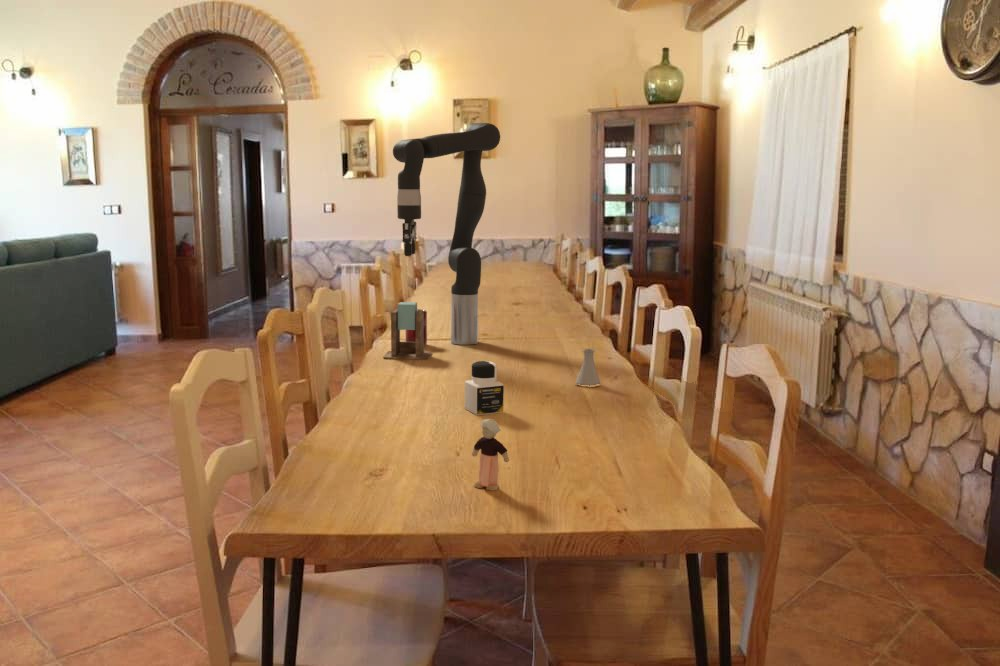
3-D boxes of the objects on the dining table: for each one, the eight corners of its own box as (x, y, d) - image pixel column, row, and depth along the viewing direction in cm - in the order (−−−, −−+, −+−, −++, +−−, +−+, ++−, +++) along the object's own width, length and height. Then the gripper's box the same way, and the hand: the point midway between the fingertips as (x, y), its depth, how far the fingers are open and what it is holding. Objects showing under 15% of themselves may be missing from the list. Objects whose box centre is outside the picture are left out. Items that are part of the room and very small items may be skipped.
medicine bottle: (477, 416, 199) (477, 366, 197) (464, 409, 205) (464, 360, 203) (503, 412, 202) (504, 363, 200) (490, 406, 208) (490, 358, 206)
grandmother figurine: (465, 488, 151) (465, 419, 149) (473, 481, 154) (474, 414, 152) (505, 494, 148) (506, 424, 146) (513, 487, 151) (514, 418, 149)
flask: (604, 384, 234) (605, 348, 232) (596, 389, 227) (597, 353, 226) (579, 381, 237) (580, 346, 235) (570, 386, 230) (571, 350, 229)
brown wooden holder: (431, 353, 273) (431, 309, 271) (427, 359, 263) (427, 313, 261) (388, 352, 274) (388, 308, 271) (383, 358, 264) (382, 312, 261)
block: (417, 327, 270) (417, 302, 268) (414, 329, 264) (414, 304, 263) (400, 326, 270) (400, 302, 268) (397, 329, 264) (397, 304, 263)
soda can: (425, 347, 285) (425, 311, 283) (404, 346, 285) (404, 311, 283) (427, 343, 292) (427, 308, 290) (407, 342, 292) (406, 308, 290)
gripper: (418, 204, 261) (418, 256, 264) (423, 203, 275) (424, 253, 278) (394, 204, 261) (394, 256, 264) (400, 203, 275) (401, 253, 278)
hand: (409, 254), depth 271 cm, fingers open, 8 cm apart
